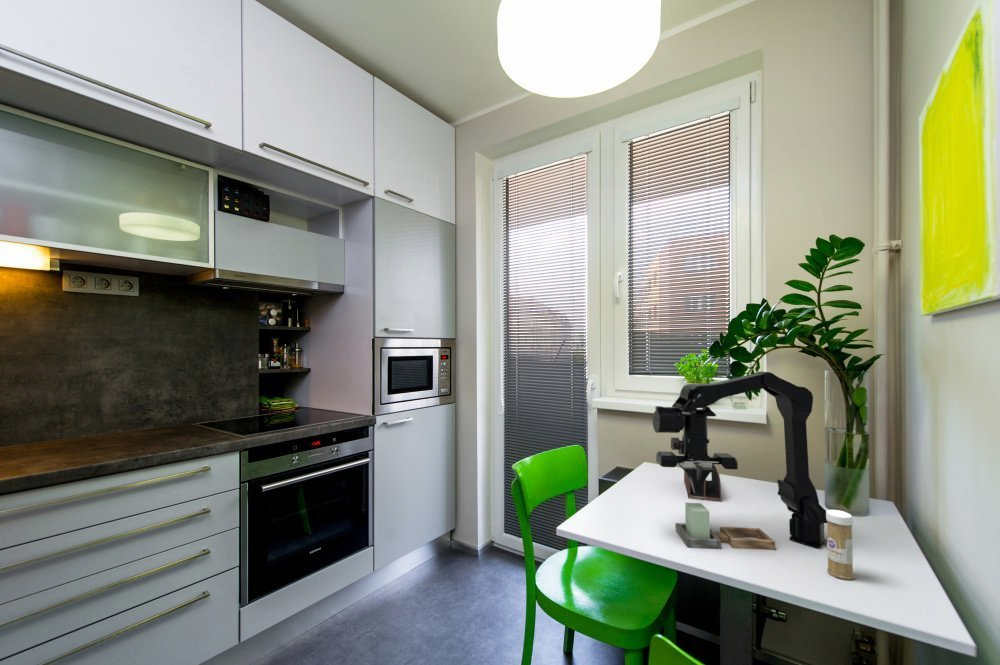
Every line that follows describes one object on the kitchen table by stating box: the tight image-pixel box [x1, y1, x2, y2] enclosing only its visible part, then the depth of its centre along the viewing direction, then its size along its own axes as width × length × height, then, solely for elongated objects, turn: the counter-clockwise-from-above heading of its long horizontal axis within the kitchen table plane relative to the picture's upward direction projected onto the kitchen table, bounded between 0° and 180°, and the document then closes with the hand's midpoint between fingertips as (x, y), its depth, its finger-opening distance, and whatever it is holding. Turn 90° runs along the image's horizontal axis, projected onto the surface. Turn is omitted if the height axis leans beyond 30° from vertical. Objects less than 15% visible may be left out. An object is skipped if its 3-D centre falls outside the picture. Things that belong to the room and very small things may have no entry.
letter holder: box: [683, 459, 722, 503], centre depth 150 cm, size 10×20×14 cm, turn 161°
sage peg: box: [684, 502, 711, 539], centre depth 112 cm, size 6×4×8 cm, turn 174°
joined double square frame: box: [675, 522, 776, 551], centre depth 111 cm, size 21×10×2 cm, turn 84°
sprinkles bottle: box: [826, 509, 854, 581], centre depth 94 cm, size 5×5×13 cm
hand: (696, 493), depth 112 cm, fingers closed
